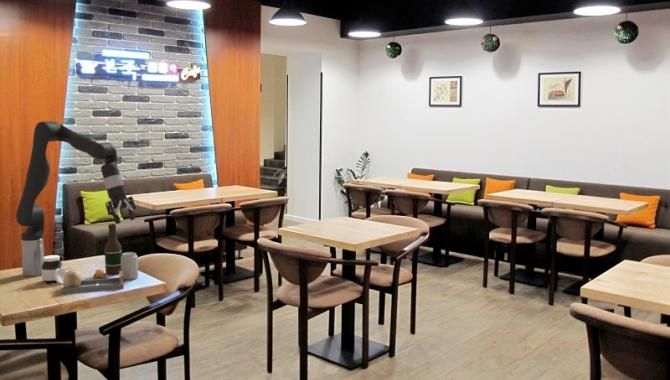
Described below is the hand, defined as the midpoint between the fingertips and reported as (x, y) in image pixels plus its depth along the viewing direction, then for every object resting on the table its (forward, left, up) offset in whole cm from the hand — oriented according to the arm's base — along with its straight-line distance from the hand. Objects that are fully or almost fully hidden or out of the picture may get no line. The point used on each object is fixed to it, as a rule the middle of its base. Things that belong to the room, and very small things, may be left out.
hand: (125, 221), depth 276 cm
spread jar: (-31, +17, -29) cm, 46 cm away
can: (+1, +13, -29) cm, 32 cm away
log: (-23, +2, -29) cm, 37 cm away
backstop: (-3, +2, -29) cm, 29 cm away
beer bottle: (-6, +25, -29) cm, 39 cm away
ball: (-12, +12, -25) cm, 30 cm away
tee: (-12, +12, -29) cm, 34 cm away
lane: (-15, +2, -29) cm, 33 cm away
